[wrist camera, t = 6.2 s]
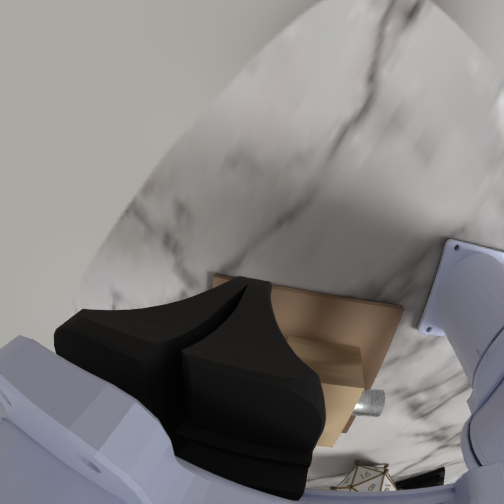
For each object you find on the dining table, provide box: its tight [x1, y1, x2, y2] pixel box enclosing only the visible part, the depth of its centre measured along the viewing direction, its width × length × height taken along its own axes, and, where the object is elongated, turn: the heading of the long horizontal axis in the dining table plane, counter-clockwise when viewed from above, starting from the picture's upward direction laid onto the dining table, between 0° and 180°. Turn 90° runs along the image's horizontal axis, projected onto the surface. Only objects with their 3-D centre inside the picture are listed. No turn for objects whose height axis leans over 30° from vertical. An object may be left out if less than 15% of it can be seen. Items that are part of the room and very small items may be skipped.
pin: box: [351, 389, 385, 417], centre depth 21 cm, size 10×4×4 cm, turn 85°
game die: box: [329, 460, 403, 492], centre depth 24 cm, size 9×8×10 cm
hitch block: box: [212, 274, 404, 447], centre depth 21 cm, size 15×16×5 cm
